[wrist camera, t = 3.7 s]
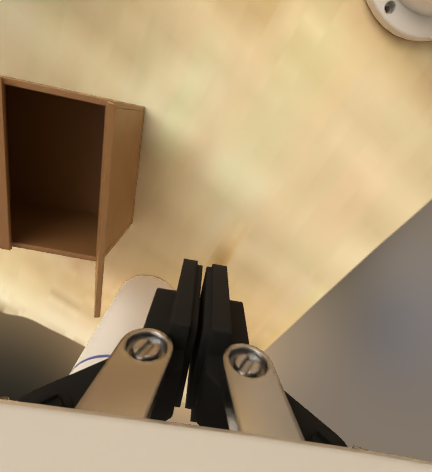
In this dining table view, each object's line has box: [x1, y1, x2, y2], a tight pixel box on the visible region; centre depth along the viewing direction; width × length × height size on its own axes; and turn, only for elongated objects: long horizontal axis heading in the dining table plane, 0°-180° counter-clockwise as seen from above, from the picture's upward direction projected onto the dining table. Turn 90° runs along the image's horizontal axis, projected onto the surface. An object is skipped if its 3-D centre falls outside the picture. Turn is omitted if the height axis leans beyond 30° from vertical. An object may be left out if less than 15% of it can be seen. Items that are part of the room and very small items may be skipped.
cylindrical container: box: [70, 275, 173, 374], centre depth 24 cm, size 7×7×25 cm
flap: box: [94, 101, 116, 318], centre depth 18 cm, size 6×12×1 cm
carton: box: [0, 75, 145, 261], centre depth 25 cm, size 13×12×10 cm
